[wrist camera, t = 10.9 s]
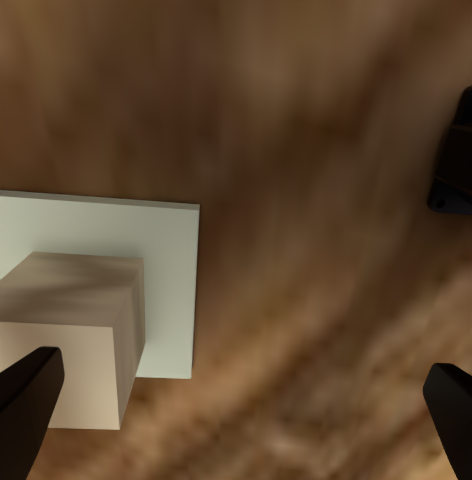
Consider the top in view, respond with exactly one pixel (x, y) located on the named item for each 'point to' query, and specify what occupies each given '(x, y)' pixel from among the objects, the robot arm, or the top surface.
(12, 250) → the sage board
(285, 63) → the top surface
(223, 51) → the top surface
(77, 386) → the birch cube
